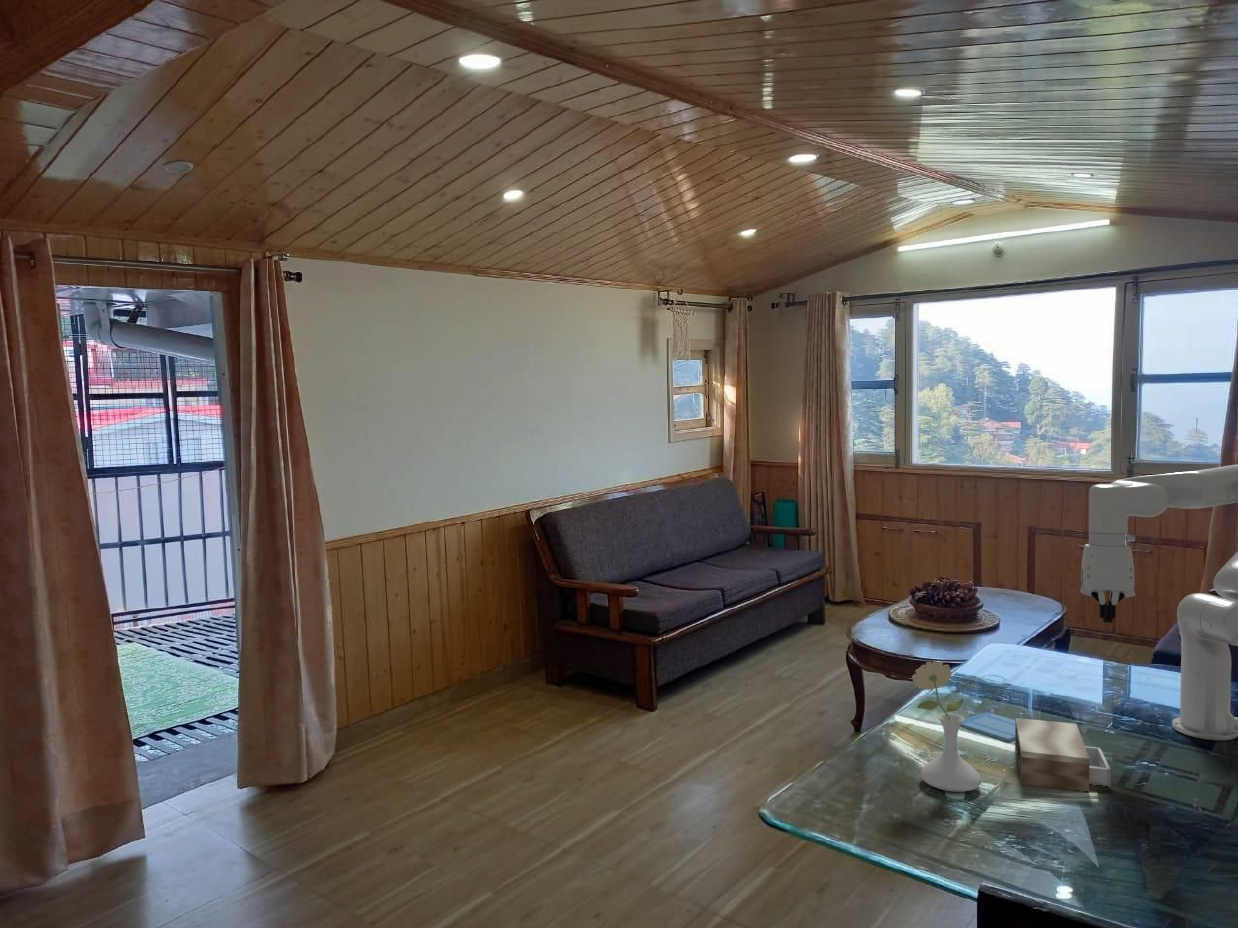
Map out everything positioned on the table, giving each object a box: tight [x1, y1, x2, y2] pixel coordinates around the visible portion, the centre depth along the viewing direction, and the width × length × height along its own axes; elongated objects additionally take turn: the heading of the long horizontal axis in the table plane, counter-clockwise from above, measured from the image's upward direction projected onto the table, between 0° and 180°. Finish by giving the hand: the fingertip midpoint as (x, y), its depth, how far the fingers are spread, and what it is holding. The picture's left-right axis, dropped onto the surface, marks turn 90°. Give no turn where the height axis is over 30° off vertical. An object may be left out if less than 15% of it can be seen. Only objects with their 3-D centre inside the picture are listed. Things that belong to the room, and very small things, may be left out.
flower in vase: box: [911, 660, 982, 793], centre depth 175 cm, size 13×11×25 cm
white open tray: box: [1085, 745, 1112, 788], centre depth 181 cm, size 14×12×4 cm
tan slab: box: [1014, 717, 1090, 793], centre depth 182 cm, size 12×20×7 cm, turn 159°
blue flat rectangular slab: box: [960, 711, 1015, 742], centre depth 206 cm, size 14×12×1 cm
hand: (1107, 621), depth 196 cm, fingers closed
